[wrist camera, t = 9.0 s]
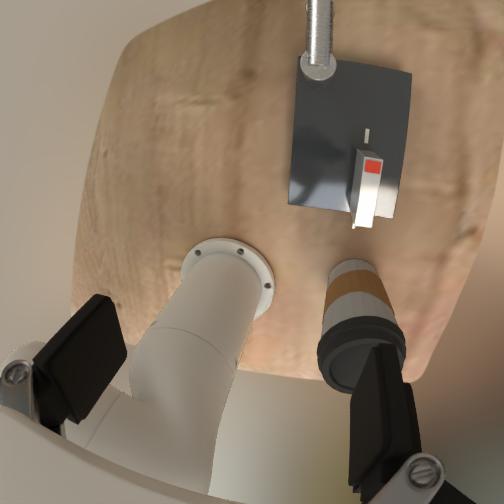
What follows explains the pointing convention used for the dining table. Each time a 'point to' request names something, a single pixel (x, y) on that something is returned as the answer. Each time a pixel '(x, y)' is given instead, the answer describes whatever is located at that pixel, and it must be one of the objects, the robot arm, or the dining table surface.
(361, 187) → the tap handle
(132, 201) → the dining table surface
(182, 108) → the dining table surface
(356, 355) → the coffee cup
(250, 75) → the dining table surface
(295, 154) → the base
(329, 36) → the spout
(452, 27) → the dining table surface
